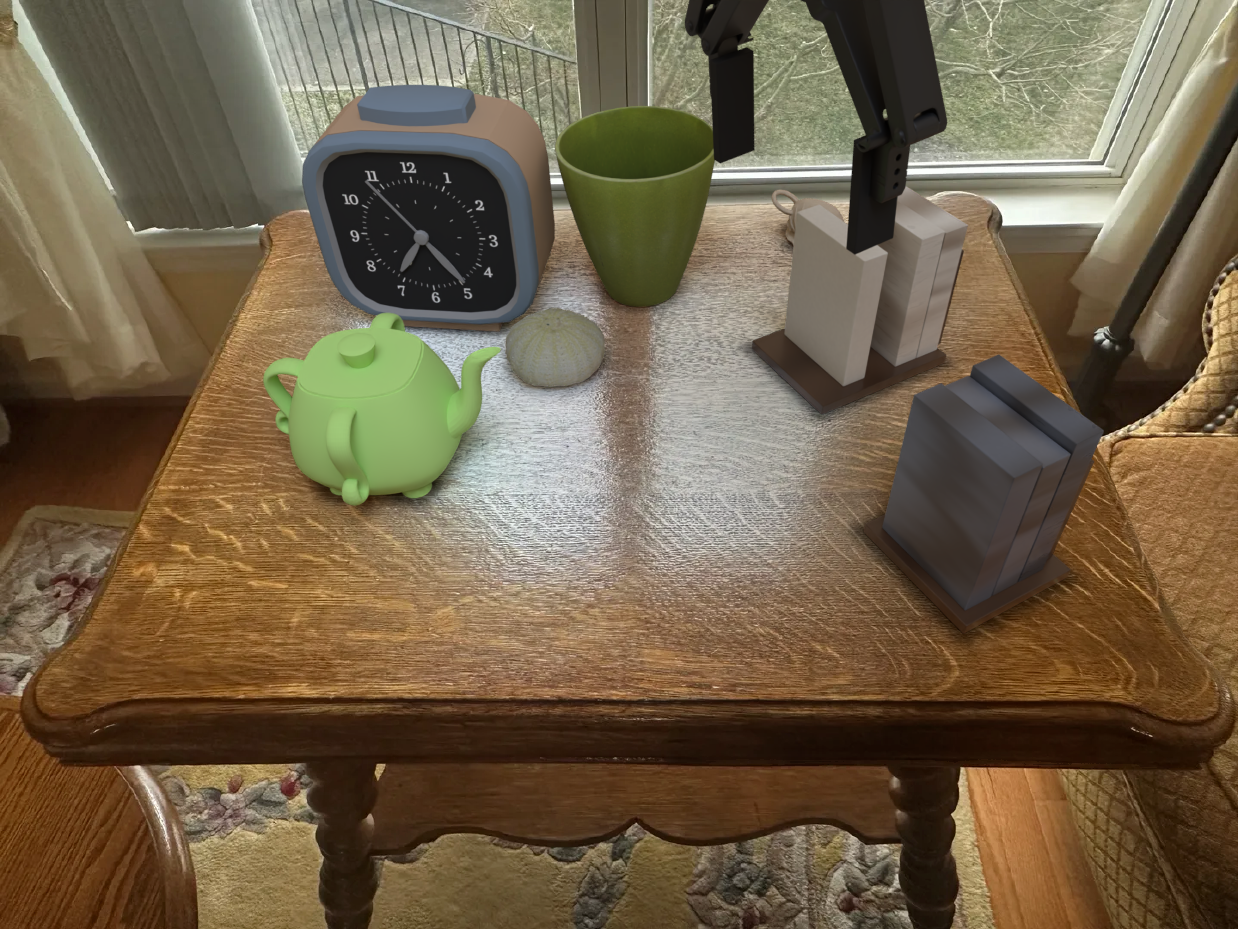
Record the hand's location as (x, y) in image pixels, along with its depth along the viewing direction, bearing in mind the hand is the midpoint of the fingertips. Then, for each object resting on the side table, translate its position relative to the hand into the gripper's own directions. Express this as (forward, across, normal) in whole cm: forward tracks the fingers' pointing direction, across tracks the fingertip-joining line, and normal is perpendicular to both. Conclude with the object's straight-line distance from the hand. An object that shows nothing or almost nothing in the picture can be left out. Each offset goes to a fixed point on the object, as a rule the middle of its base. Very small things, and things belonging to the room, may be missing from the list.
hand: (796, 196), depth 57 cm
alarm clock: (+25, -39, -14) cm, 48 cm away
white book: (+26, -12, +12) cm, 31 cm away
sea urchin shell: (+25, -25, -9) cm, 37 cm away
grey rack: (+27, +12, +7) cm, 31 cm away
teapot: (+24, -20, -26) cm, 41 cm away
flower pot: (+26, -32, +4) cm, 41 cm away
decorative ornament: (+27, -29, +24) cm, 47 cm away
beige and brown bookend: (+27, -12, +15) cm, 33 cm away
